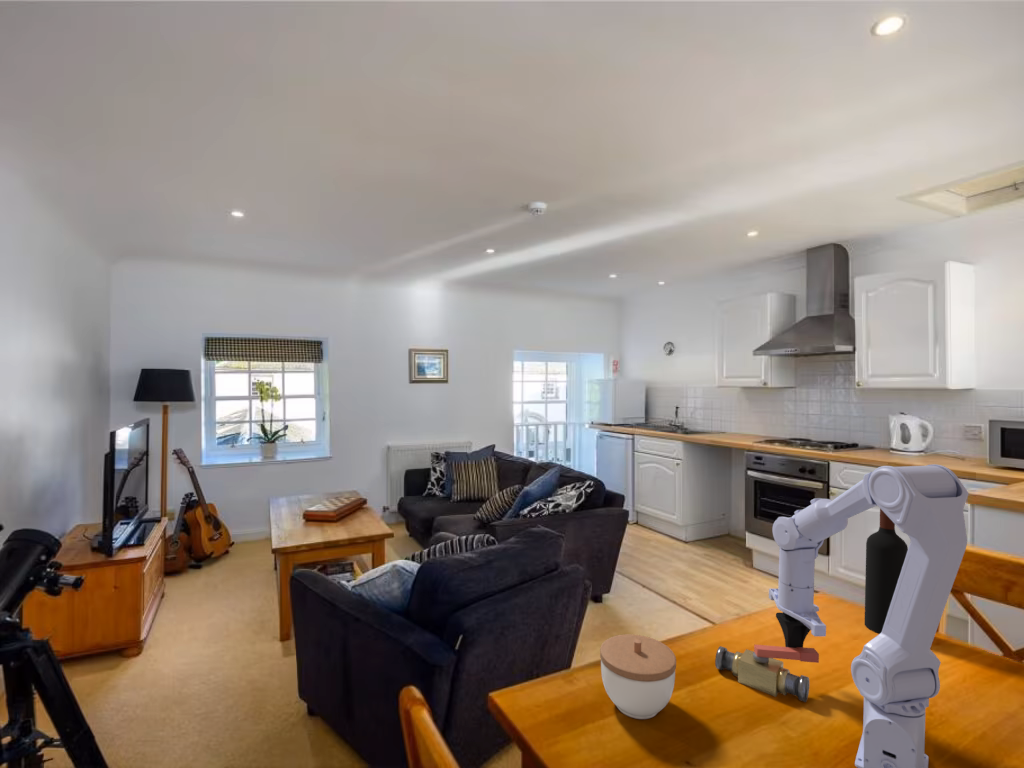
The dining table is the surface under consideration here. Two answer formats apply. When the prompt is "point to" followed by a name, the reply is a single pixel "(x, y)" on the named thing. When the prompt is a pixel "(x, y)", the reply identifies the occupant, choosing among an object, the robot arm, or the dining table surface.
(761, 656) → the lever
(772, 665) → the pipe valve
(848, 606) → the dining table surface
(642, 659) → the lidded bowl
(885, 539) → the wine bottle
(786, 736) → the dining table surface
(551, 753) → the dining table surface
